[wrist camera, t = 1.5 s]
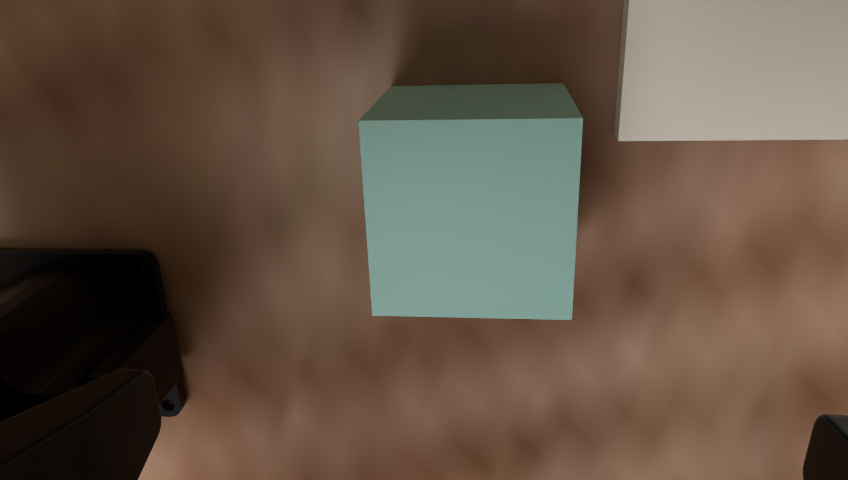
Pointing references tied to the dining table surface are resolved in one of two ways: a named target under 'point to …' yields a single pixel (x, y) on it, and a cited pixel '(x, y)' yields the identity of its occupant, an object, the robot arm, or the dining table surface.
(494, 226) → the cube
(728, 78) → the plate
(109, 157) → the dining table surface
